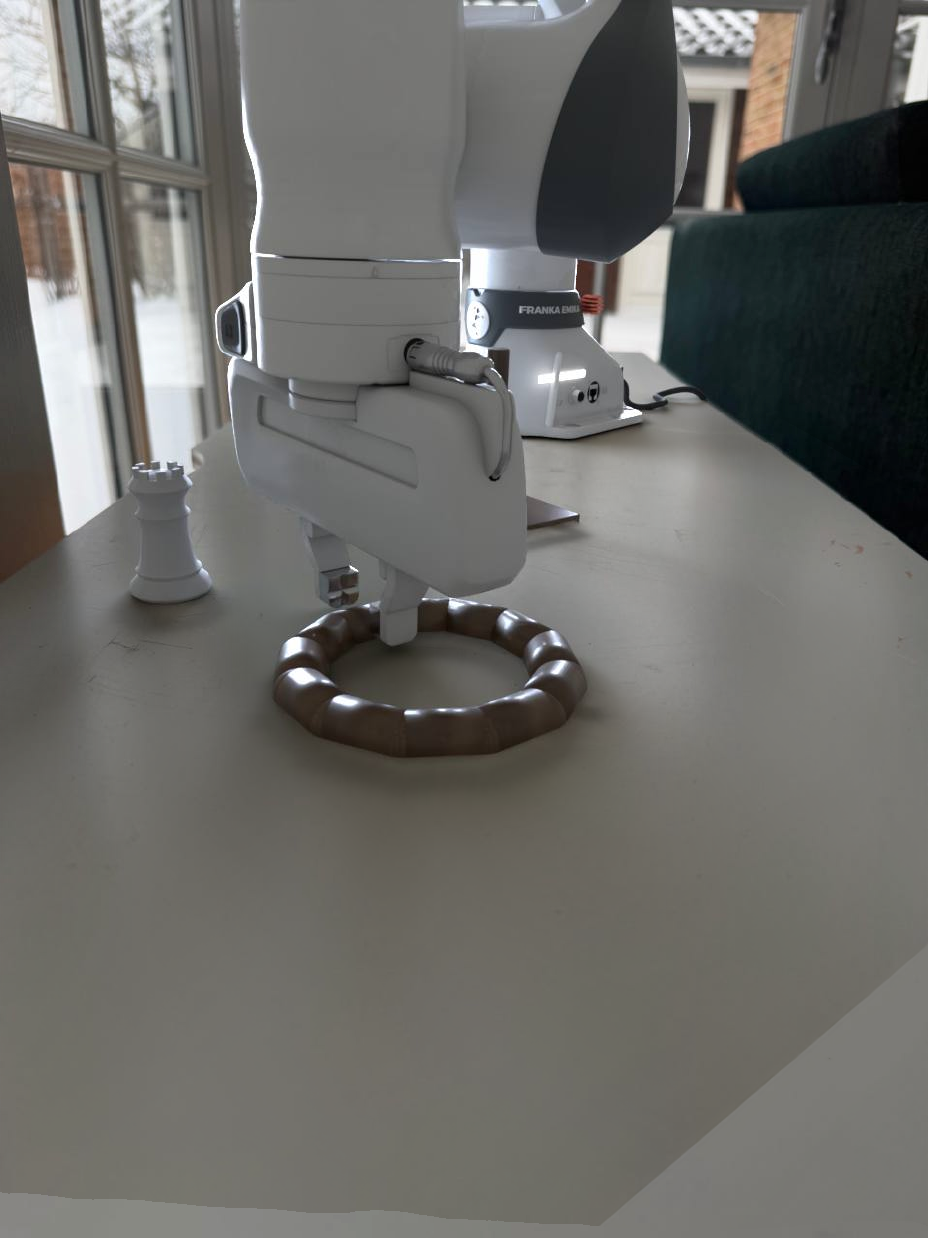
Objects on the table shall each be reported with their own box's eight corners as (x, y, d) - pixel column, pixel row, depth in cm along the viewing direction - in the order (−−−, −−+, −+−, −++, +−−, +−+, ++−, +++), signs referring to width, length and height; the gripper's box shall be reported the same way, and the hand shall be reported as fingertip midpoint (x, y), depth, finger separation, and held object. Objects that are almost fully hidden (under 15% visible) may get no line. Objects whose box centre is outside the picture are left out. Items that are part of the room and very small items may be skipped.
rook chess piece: (169, 632, 46) (152, 482, 43) (113, 612, 48) (92, 467, 45) (232, 605, 49) (221, 464, 46) (177, 587, 52) (162, 452, 48)
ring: (459, 613, 49) (460, 572, 48) (644, 715, 39) (650, 668, 38) (225, 676, 42) (221, 630, 41) (382, 825, 32) (382, 768, 31)
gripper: (578, 354, 33) (551, 684, 38) (313, 307, 47) (322, 550, 53) (439, 364, 29) (433, 727, 35) (200, 310, 44) (222, 571, 49)
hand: (364, 619), depth 44 cm, fingers open, 4 cm apart
